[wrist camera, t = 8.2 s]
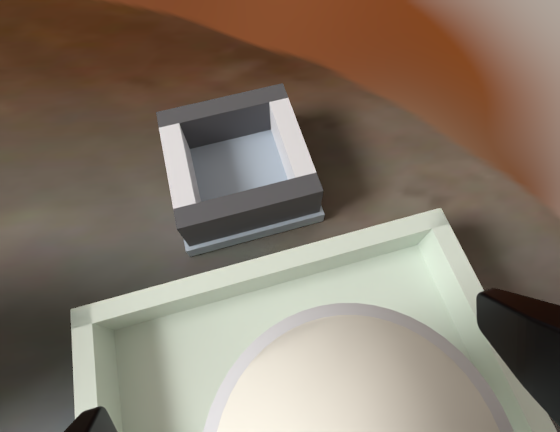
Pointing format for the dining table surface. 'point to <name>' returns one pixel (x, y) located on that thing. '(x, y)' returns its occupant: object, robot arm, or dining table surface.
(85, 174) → the dining table surface
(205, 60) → the dining table surface
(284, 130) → the tray
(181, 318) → the tray
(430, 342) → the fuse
